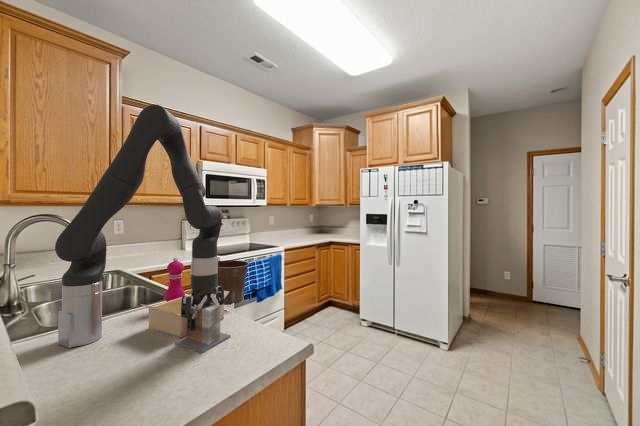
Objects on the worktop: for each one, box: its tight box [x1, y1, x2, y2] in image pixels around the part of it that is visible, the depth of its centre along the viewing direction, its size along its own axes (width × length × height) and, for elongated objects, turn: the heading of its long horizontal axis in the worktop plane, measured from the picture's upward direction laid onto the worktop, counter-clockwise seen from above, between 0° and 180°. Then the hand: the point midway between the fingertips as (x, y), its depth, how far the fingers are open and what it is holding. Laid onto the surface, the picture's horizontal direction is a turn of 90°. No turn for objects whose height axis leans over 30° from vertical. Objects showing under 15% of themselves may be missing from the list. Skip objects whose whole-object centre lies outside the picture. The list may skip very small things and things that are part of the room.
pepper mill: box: [164, 257, 186, 302], centre depth 113 cm, size 7×7×20 cm
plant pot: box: [217, 259, 250, 306], centre depth 123 cm, size 16×16×16 cm
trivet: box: [174, 331, 231, 354], centre depth 87 cm, size 11×11×1 cm
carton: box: [140, 291, 229, 340], centre depth 99 cm, size 24×16×9 cm, turn 154°
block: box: [185, 304, 221, 345], centre depth 86 cm, size 4×9×10 cm, turn 65°
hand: (203, 325), depth 86 cm, fingers open, 8 cm apart
